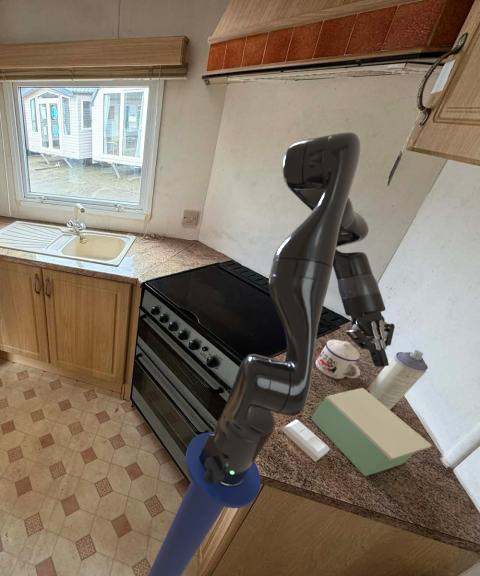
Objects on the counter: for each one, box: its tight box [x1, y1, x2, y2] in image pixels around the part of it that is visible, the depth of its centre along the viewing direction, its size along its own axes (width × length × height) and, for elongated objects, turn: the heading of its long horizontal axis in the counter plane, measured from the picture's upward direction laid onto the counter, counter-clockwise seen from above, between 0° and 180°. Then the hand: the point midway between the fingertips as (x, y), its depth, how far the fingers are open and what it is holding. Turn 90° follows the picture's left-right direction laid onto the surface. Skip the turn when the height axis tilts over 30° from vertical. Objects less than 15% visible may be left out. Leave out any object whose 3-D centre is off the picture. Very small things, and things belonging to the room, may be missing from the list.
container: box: [310, 397, 417, 477], centre depth 78 cm, size 16×13×9 cm
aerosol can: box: [365, 349, 429, 411], centre depth 86 cm, size 7×7×20 cm
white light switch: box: [281, 419, 331, 462], centre depth 78 cm, size 5×9×3 cm, turn 28°
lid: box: [325, 387, 433, 460], centre depth 75 cm, size 16×13×1 cm
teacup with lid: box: [315, 339, 361, 380], centre depth 97 cm, size 12×9×12 cm
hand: (381, 366), depth 73 cm, fingers closed
